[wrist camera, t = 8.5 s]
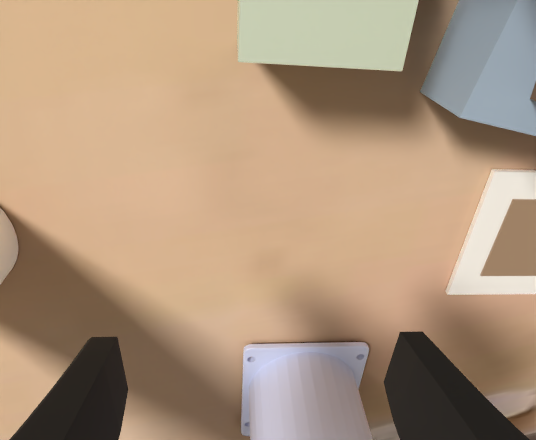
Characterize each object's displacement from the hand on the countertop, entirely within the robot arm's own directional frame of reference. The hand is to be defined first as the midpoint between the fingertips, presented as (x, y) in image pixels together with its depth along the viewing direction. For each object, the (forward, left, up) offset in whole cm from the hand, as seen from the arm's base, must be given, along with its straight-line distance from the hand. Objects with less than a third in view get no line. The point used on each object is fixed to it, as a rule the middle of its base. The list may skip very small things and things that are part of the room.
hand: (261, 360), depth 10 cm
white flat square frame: (-3, -16, -10) cm, 19 cm away
